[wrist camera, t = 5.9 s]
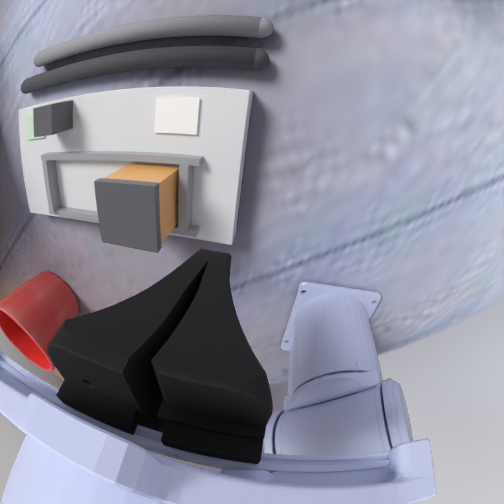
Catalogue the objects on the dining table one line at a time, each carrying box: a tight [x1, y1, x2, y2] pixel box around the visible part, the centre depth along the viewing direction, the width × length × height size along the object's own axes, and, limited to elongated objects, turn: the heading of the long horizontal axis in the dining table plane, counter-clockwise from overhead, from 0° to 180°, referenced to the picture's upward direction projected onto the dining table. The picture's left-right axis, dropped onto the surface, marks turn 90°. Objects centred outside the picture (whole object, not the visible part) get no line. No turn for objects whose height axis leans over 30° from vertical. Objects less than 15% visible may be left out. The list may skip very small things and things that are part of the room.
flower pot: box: [0, 271, 79, 371], centre depth 26 cm, size 11×11×10 cm
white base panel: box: [19, 87, 253, 245], centre depth 17 cm, size 11×22×4 cm, turn 83°
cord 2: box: [21, 46, 269, 94], centre depth 14 cm, size 2×24×2 cm, turn 83°
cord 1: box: [34, 15, 274, 67], centre depth 13 cm, size 2×22×2 cm, turn 83°
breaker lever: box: [94, 164, 179, 253], centre depth 16 cm, size 4×4×4 cm
